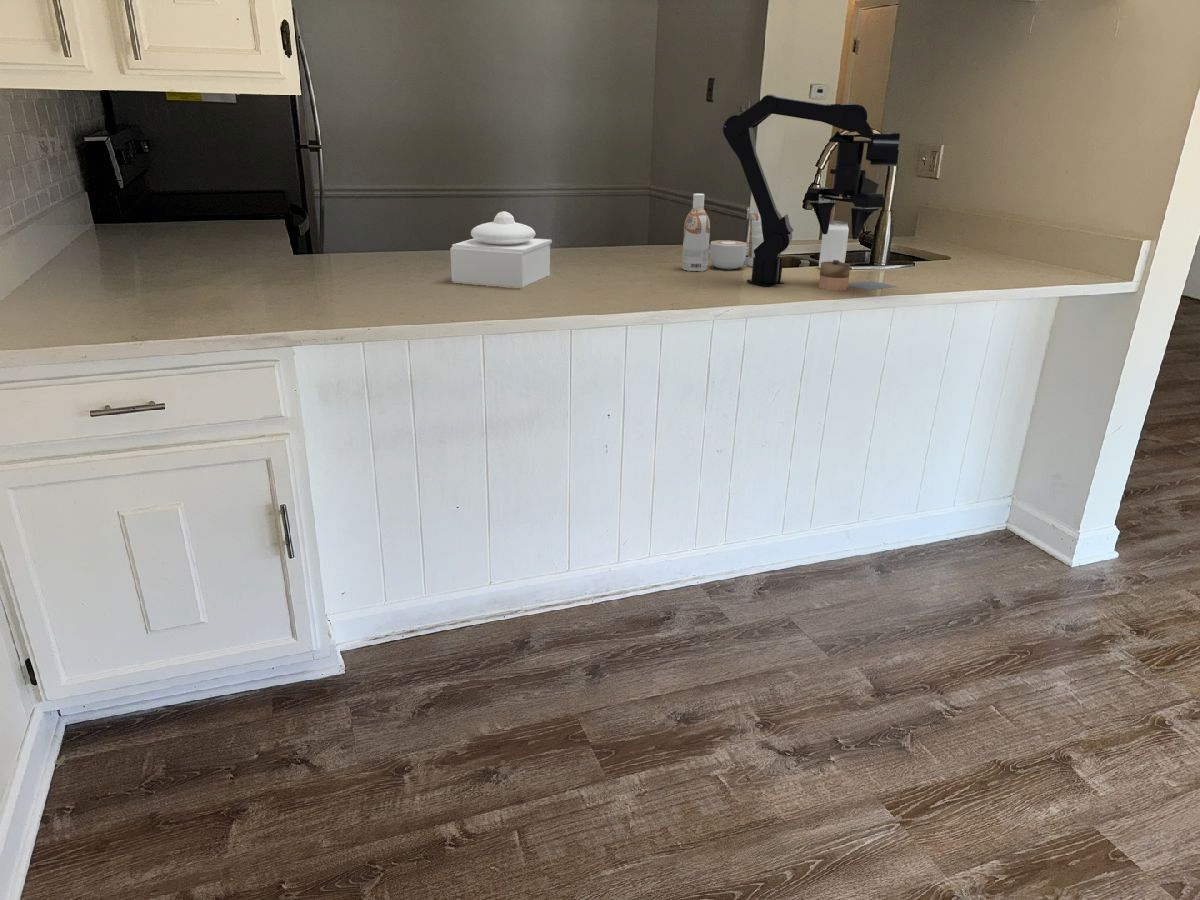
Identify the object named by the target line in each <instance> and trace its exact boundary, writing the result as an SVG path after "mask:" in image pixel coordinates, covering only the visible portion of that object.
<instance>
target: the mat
mask: <svg viewBox="0 0 1200 900" xmlns="http://www.w3.org/2000/svg"><path fill="white" fill-rule="evenodd" d="M848 287H851V288H856V289H860V290H864V291H872V290H873V291H874V290H883V289H890V288H897V287H898V286H896V285H891V284H888V283H883V282H878V281H873V280H866V281H865V280H864V281H858V282H848Z"/></svg>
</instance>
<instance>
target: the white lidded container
mask: <svg viewBox="0 0 1200 900" xmlns="http://www.w3.org/2000/svg"><path fill="white" fill-rule="evenodd" d="M514 217H515V216H513V215H512V214H511V213H510V212H509V211H508V212H507V211H505V210H504V211H499V212H498V213H497V214H496V215H495V217H494V218H493V221H490V222H489V221H488V222H485V223H481V224H479V225H477V226H474V227H473V228H472V229H471V230H470V236H471V237H472V238H471V239H470V238H469V239H468V240H467V239H466V240H463V241H461V242H460V241H459V242H457V243H453V244H451V247H450V248H449V250H450V271H451V273H450V275H451V282H452V281H459V282H468V283H478V284H488V285H501V286H513V287H524V286H526V285H528V284H530V283H533V282H535V281H537V280H539V279H542V278H544V277H546V276H549V275H550V276H551V244H552V243H553V239H549V238H548V239H546V238H534V237H535V236H536V234H537V233H536V231H535V230H534V229H533V228H532V227H531V226H529V225H528V224H527V225H526V224H524V223H519V222H516V221H515V218H514Z"/></svg>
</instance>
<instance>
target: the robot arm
mask: <svg viewBox="0 0 1200 900" xmlns="http://www.w3.org/2000/svg"><path fill="white" fill-rule="evenodd" d="M868 114H869V113H868V111H867V108H866V107H865V106H864V105H862V104H859V103H829V104H825V103H819V102H814V101H813V102H812V101H805V100H799V99H794V98H792V99H791V98H786V97H780V96H776V95H774V94H766V95H764V96H763V97H762V98H761V99H760V100H759V101H758V102H756V103H754V105H751V106H750V107H748V108H747V109H746V110H744V111H743V112H742V113H740V114H734V115H731V116H729V117H728V118H727V119H726V120H725V122H724V124H723V127H722V132H723V136H724V137H725V138H724V139H726V141H727V142H728V144H729V147H730V148H731V149H732V151H733V152H734V153H735V155H736V157H737V158H738V159H739V162H740V165H741V167H742V170H743V172H744V176H745V179H746V182H747V184H748V186H749V189H750V192H751V194H752V197H753V200H754V203H755V205H756V208H757V210H758V211H759V214H760V217H761V225H762V234H763V239H764V241H763V242H762V243H761V244H760V245H759V246H758V247H757V248H756V249H755V250H754V254H755V257H753V267H752V270H751V279H746V282H747V283H750V284H754V285H757V286H762V287H770V286H771V287H772V286H776V285H782V284H783V285H784V284H785V282H784V281H782V272H783V257H782V256H781V254H782V252H784V251H785V250H787V248H788V247H789V246H790V244H791V243H792V239H793V234H792V233H793V232H794V228H793V227H792V226H791V224H790V223H791V222H790V219H789V214H786V215H783V216H782V214H781V213H780V212H779V210H778V208H777V206H776V203H775V200H774V198H773V195H772V192H771V189H770V187H769V183H768V182H767V178H766V176H765V173H764V169H763V168H762V165H761V162H760V158H759V155H758V154H757V147H756V138H755V132H754V129H755V128H756V127H757V126H759V125H760V124H762V123H763V122H765V120H766V119H768V118H769V117H770V116H771V115H777V116H779V115H780V116H784V117H791V118H797V119H802V120H804V119H805V120H808V121H815V122H822V123H824V124H827V125H829V126H832V127H835V128H837V129H841V130H843V131H845V132H849V133H855V132H856V133H857V134H859V135H860V136H861V137H863V138H870V140H865V139H864V140H863V139H861V140H860V139H855V136H856V135H855V134H842V133H841V132H840V130H837V131H836V132H835V133H834V135H833V136H831V137H830V138H829V140H828V142H829V143H837V146H836V155H835V162H834V163H835V164H834V168H830V171H829V174H831V175H833V179H832V180H833V181H832V187H825V186H822V187H821V186H820V187H815V186H814V187H809V189H808V190H807V191H806V197H805V201H810V202H809V206H810V205H811V207H812V210H813V211H814V214H815V217H816V218H817V221H818V225H819V226H820V230H821V233H822V234H827V233H828V229H829V222H830V221H831V215H832V210H833V208H834V207H835V205H836V204H837V202H835V201H838V202H844V203H852V204H853V205H854V207H851V209H850V210H851V236H852V240H857V239H858V238H859V236H860V234H861V232H862V231H863V228H864V226H865V225H866V222H867V220H868V219H869V217H870V216H871V215H872V214H873V213H874V212H877V211H879V210H880V208H884V207H885V203H886V198H885V195H884V194H883V193H879V192H877V191H878V188H879V186H880V184H879V183H877V182H875V181H873V180H871V179H869V178H867V177H866V170H865V169H862V166H863V165H862V164H863V157H864V151H865V150H864V149H865V144H867V145H866V154H865V161H868V162H869V163H870V164H869V165H870V166H879V167H880V166H881V167H882V166H884V167H889V166H890V167H897V165H898V158H899V153H900V148H899V146H900V137H901V134H900V133H899V132H893V133H876V132H874V129H873V128H872V127H871V125H870V124H869V123H868V119H869V115H868Z"/></svg>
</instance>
